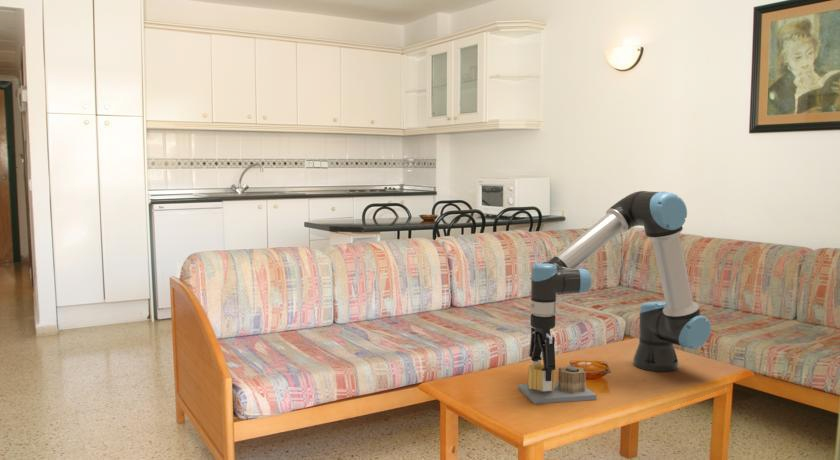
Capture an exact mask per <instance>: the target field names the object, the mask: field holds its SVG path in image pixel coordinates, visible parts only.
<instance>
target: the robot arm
mask: <svg viewBox="0 0 840 460" xmlns="http://www.w3.org/2000/svg"><path fill="white" fill-rule="evenodd" d="M687 216H688V210H687V206H686V203H685V202H684V200H683V199H682V198H681V196H679V195H678V194H676V193H673V192H668V191H647V190H639V191H634V192H632V193H629V194H628V195H626V196H625V197H623V198H621V199H620V200H619V201H618V200H617V202H616V203H614V204H613V205H611V206H610V207H609V208H608V209H607V210H606V212H605V215H604V216H603V217H602V218H600V219H599V220H598V221H597V222H596V223H594V224H593V225H591V227H589V228H588V229H587V230H585V231H584V232H583V233H582V234H581V235H579V236H578V237H576V239H574V240H572V242H570V243H569V244H568V245H567V246H566V247H564V248H563V249H562V250H561V251H560V252H558V253H556V254H555V255H554V256H553V257H551V259H549V260H548V261H540V262H538V263H536V264H533V265H532V267H531V275H530V276H531V277H530V283H531V284H530V288H531V289H530V297H531V298H530V299H531V300H530V303H529V307H530V312H531V314H530V322H529V323H530V326H531V328H530V332H531V333H530V334H531V335H530V344H529V357H530V358H531V365H538V364H542V365H544V368H543V369H542V371H543V381H542V391H552V370H555V371H556V369H557V368H556V351H555V349H556V348H555V344H556V343H555V341H556V338H555V336H552V334H551V329H554V328H555V327H556V315H555V314H556V313H557V312H556V311H557V300H556V299H557V295H562V294H580V293H585V292H588V291H589V290H590V289H591V287H592V276H591V274H590V271H588V269H586V268H579V266H581V265H582V264H583V263H584V262H585V261H587V260H588V259H589V258H590V257H591V256H593V255H595V254H596V253H597V252H598V251H599V250H600V249H602V248H603V247H604V246H605V245H607V244H608V243H609V242H610V241H612V240H613V239H614V238H616V236H618V235H619V234H620V233H626V232H627V231H629V230H630V229H632V228H634V227H636V226H637V227H638V226H642V227H643V228H644V233H645V236H646V238H648V239H650V240H651V241H652V246H653V251H654V256H655V259H656V264H657V269H658V274H659V278H660V283H661V287H662V288H661V289H662V292H663V296H664V297H663V298H664V301H649V302H648V301H647V302H643V303H642V304H641V305H640V309H639V310H640V311H639V334H638V335H639V336H638V337H639V338H638V339H639V342H638V345H637V348H636V349H635V350H636V351H635V354H634V356H633V365H634V366H635V367H637V368H640V369H643V370H646V371H653V372H672V371H676V370H678V368H679V360H678V356H677V353H676V350H675V346H674V345H677V346H678V347H679V346H680V347H681V348H685V349H690V350H696V349H699V348H700V347H702V346H704V345H705V344H706V343H707V341H708V339H709V338H710V336H711V330H712V325H711V322H710V320H709V319H708V318H707V317H706V316H705V315H701V309H700V305H699V303H697V302H695V301H694V299H693V295H692V294H693V293H692V291H691V285H690V281H689V276H688V272H687V268H686V262H685V258H684V251H683V248H682V242H681V239H680V234H681V233H682V231H683V229H684V228H683V225H684V224H685V222H686V219H687ZM542 362H543V363H542Z"/></svg>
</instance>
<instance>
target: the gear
mask: <svg viewBox="0 0 840 460" xmlns="http://www.w3.org/2000/svg"><path fill="white" fill-rule="evenodd" d="M567 367H573V366H572V365H568V366H563V367H562V366H561V367H558V381H557V382H558V387H560V390H561V391H568V392H572V393H576V392H581V391H585V389H586V388H587V385H586V381H587V380H586V379H587V371H585V368H583V367H578V366H577V371H568V370H567Z"/></svg>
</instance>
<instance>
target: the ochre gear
mask: <svg viewBox="0 0 840 460" xmlns="http://www.w3.org/2000/svg"><path fill="white" fill-rule="evenodd" d="M527 367H528V369H527V384H528V385H529V388H530V389H537V390H541V391H542V381H543V371H542V369H543V368H544V364H543V363H541V364H538V365H532V364H530V365H528V366H527ZM555 382H556V369H555V370H552V390H554V389H555Z"/></svg>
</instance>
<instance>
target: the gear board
mask: <svg viewBox="0 0 840 460" xmlns="http://www.w3.org/2000/svg"><path fill="white" fill-rule="evenodd" d="M566 367H567V370H568V371H577V367H578V366H577V367H576V366H572V367H568V366H566ZM518 390H519V391H520V392H521V393H522V394H523V395H524V396H525V397H526V398H527V399H528V400H529V401H530V402H531V403H532V404H533V405H538V404H555V403H565V402H566V403H567V402H568V403H569V402H581V401H582V402H584V401H596V400H597V394H596V393H595V392H593V391H592V390H590V389H589V388H588V387H586V389H585V391H581V392H576V393H572V392H568V391H561V390H560V387H558V381H555V389H554V390H552V391H541V390H537V389H530V388H529V385H528V383H522V384H521V383H519V384H518Z"/></svg>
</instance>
